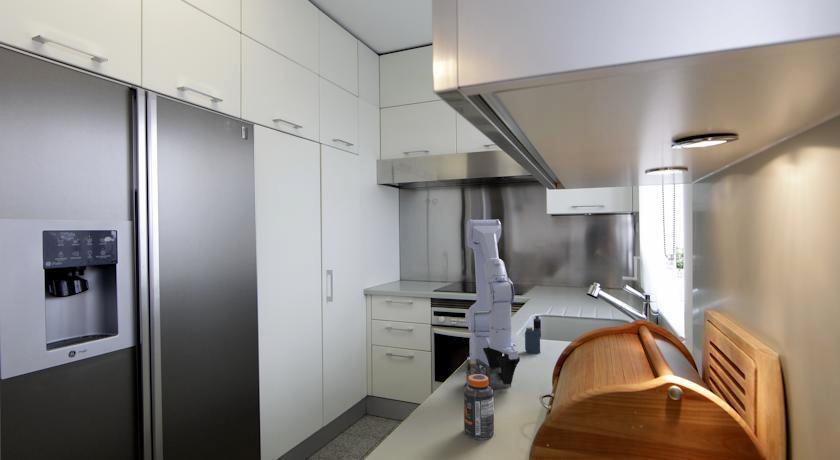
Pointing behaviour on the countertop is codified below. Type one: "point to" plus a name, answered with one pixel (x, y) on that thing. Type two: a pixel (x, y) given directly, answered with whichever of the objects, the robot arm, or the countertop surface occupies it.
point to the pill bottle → (478, 408)
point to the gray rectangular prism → (494, 377)
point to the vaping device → (533, 337)
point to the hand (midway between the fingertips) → (501, 379)
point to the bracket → (479, 362)
